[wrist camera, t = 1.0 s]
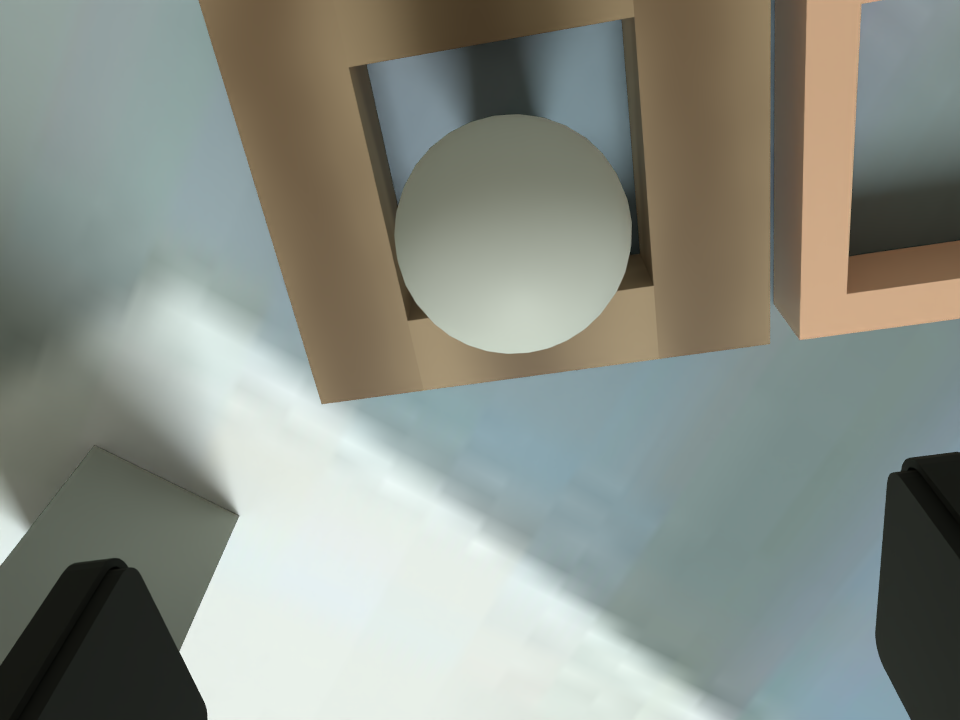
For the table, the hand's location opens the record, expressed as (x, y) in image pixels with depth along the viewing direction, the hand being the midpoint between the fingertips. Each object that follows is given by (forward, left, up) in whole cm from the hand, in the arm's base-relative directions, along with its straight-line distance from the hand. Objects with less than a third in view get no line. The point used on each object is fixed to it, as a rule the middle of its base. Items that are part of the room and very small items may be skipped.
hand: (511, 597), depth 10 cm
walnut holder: (0, 0, -20) cm, 20 cm away
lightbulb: (0, 0, -21) cm, 21 cm away
